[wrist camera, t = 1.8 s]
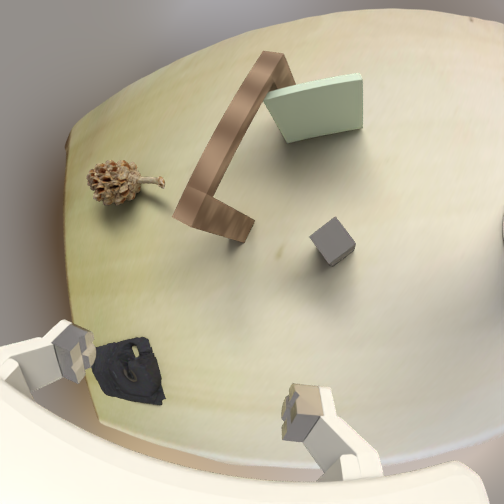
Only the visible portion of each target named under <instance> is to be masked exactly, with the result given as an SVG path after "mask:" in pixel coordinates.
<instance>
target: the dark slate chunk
mask: <svg viewBox="0 0 504 504" xmlns="http://www.w3.org/2000/svg"><path fill="white" fill-rule="evenodd" d="M133 345H136V346H137V348H138V351H139V355H140V356H138V357H136V358H135V355H134V353H133V350H132V346H133ZM95 348H96V358H95V361H94V363H93V365H92V366H91V368H92V372H93V374H94V376H95V378H96V380H97V381H98V383H99V385H100V387H101V389H102V390H103V392H104V393H105V394H106V395H108V396H112V397H118V398H121V399H125V400H129V401H134V402H142V403H149V404H155V405H162V400H163V399H166V398H165V395H164V392H163V389H162V385H161V374H160V370H159V367H158V363H157V359H156V357H154V353H152V347H150V344H149V340H148V339H146V338H145V337H141V338H138V337H136V338H133V339H128V340H124V341H120V342H117V343H115V342H113V343H109V344H107V345H103V346H99V347H95Z"/></svg>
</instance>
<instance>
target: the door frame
mask: <svg viewBox="0 0 504 504" xmlns="http://www.w3.org/2000/svg"><path fill="white" fill-rule="evenodd" d="M293 85H296V83H295V81H294V78H293V76H292V73H291V71H290V68H289V66H288V63H287V61H286V58H285V56H284V54H283V53H276V52H268V51H263V52H262V54H261V55H260V57H259V58H258V60H257V61H256V63H255V64H254V66H253V67H252V69H251V70H250V72H249V74H248V75H247V77H246V78H245V80H244V82H243V83H242V85H241V86H240V88H239V90H238V91H237V93H236V95H235V96H234V98H233V100H232V101H231V103H230V105H229V107H228V108H227V110H226V112H225V114H224V115H223V117H222V119H221V121H220V122H219V124H218V126H217V128H216V130H215V131H214V133H213V135H212V137H211V139H210V141H209V142H208V144H207V146H206V148H205V150H204V152H203V154H202V156H201V158H200V160H199V162H198V164H197V166H196V168H195V170H194V172H193V174H192V176H191V178H190V180H189V182H188V184H187V186H186V188H185V190H184V192H183V194H182V196H181V199H180V201H179V203H178V205H177V207H176V209H175V212H174V214H173V216H172V217H173V218H175V219H177V220H179V221H181V222H182V223H184V224H186V225H188V226H190V227H193V228H196V229H199V230H203V231H206V232H209V233H213V234H216V235H220V236H223V237H226V238H230V239H233V240H236V241H240V242H243V243H245V240H246V238H247V236H248V234H249V232H250V230H251V228H252V226H253V224H254V222H255V220H253V219H252V218H250V217H248V216H246V215H244V214H243V213H241V212H239V211H237V210H235V209H234V208H232V207H230V206H228V205H226V204H224V203H223V202H221V201H219V200H217V199H215V198H213V196H214V194H215V192H216V190H217V188H218V186H219V184H220V182H221V179H222V177H223V175H224V173H225V171H226V169H227V167H228V166H229V164H230V162H231V160H232V158H233V156H234V154H235V152H236V150H237V148H238V146H239V144H240V142H241V140H242V138H243V137H244V135H245V133H246V131H247V129H248V127H249V125H250V124H251V122H252V120H253V118H254V116H255V114H256V113H257V111H258V109H259V107H260V105H261V104H262V102H263V100H264V98H265V97H266V95H267V93H268V92H270V91H274V90H278V89H281V88H285V87H289V86H293Z"/></svg>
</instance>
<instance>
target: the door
mask: <svg viewBox="0 0 504 504" xmlns="http://www.w3.org/2000/svg"><path fill="white" fill-rule="evenodd" d="M263 102H264V104H265V105H266V107H267V109H268V110H269V112H270V114H271V116H272V117H273V119H274V121H275V123H276V124H277V126H278V128H279V130H280V132H281V133H282V135H283V137H284V139H285V141H286V142H287V143H291V142H295V141H300V140H304V139H308V138H313V137H318V136H323V135H328V134H333V133H338V132H343V131H349V130H355V129H361V128H363V82H362V77H361V75H360V73H355V74H348V75H342V76H336V77H331V78H325V79H320V80H315V81H311V82H306V83H302V84H297V85H293V86H289V87H285V88H281V89H278V90H274V91H270V92H268V93H267V95H266V97H265V98H264V100H263Z"/></svg>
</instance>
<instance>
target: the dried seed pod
mask: <svg viewBox="0 0 504 504" xmlns="http://www.w3.org/2000/svg"><path fill="white" fill-rule="evenodd" d="M87 180H88V186H90V189H91V190H93V191H94V190H95V192H94V195H93V199H96V201H99V202H100V201H103V204H104V205H108V206H109V205H110V204H112V203H113V202H114V203H115V204H116V205H119V204H121V203H124V201H125V200H129V201H131V199H134V198H135V194H136V193H139V191H140V190H141V189H140V188H141V186H140V184H143V183H148V184H150V183H152V184H157V185H158V186H159V187H161V188H164V187H165V181H164V179H163V178H162V177H160V176H159V178H155V177H142V176H140V173H139V171H138V170H137V165H136V164H135V163H134V162H131V163H130V164H128V163H127V162H126V161H125V160H123V161H121V160H119V161H118V162H117V163H115V162H114V161H113V160H111V161H108V160H107V161H106V164H103V163H102V164H96V165H95V169H91V170H90V171H89V174H88V175H87Z"/></svg>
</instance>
